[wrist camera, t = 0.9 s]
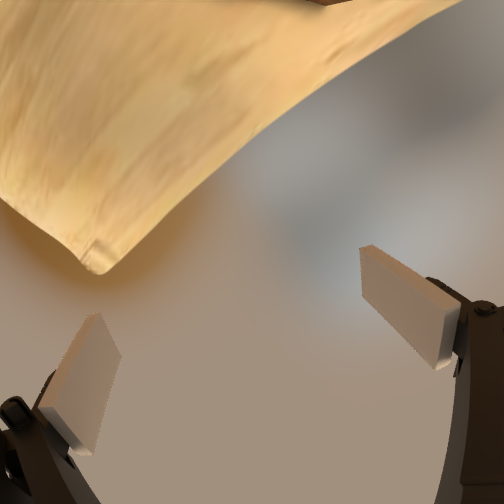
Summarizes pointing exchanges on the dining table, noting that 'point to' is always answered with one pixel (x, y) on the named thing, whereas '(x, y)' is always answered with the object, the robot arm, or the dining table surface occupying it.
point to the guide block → (328, 1)
